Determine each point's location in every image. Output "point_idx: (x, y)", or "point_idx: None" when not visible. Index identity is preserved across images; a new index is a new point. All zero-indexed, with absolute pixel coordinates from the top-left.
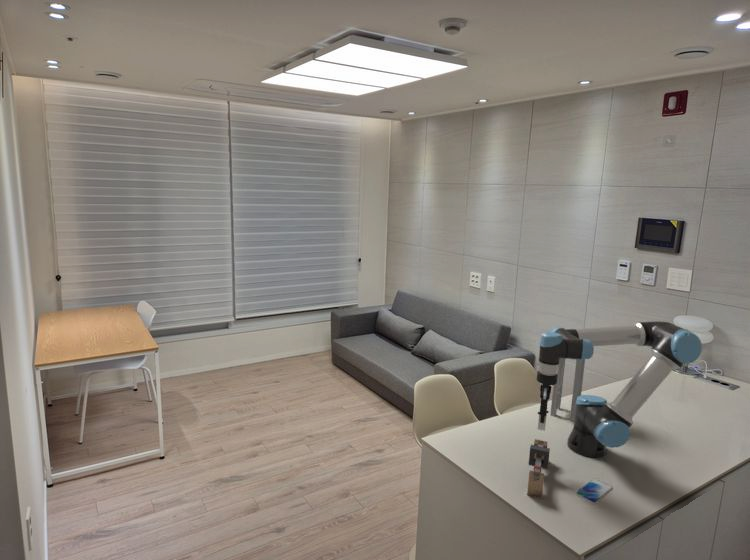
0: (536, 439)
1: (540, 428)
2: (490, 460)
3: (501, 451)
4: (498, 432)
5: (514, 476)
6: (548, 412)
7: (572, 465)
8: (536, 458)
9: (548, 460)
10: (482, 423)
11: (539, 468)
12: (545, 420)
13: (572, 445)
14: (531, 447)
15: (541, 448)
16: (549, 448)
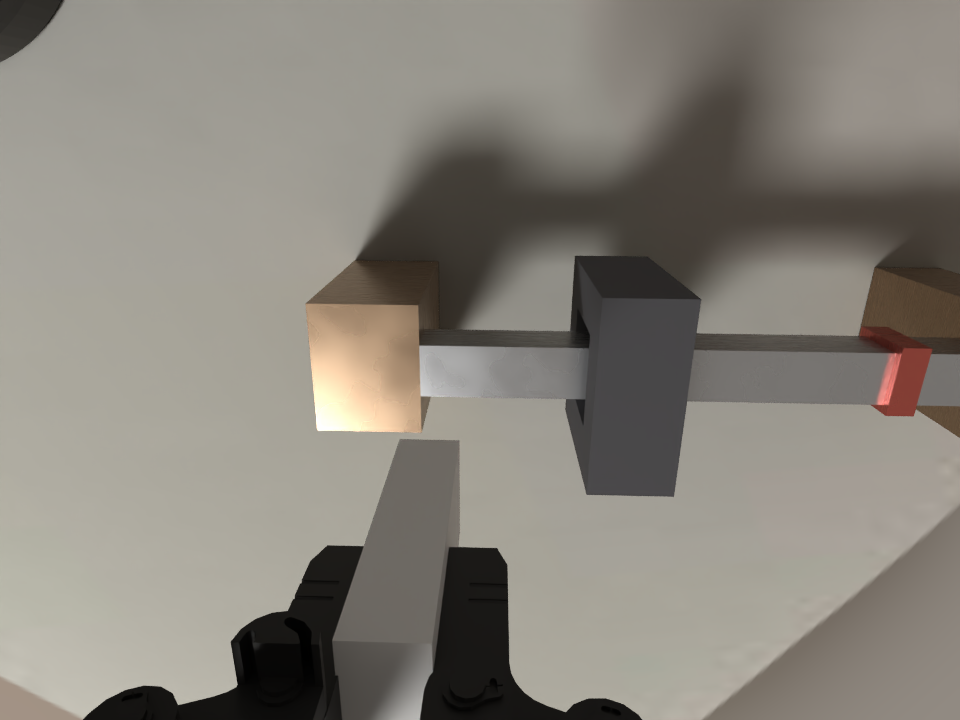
0: (316, 414)
1: (458, 510)
2: (545, 609)
3: None
4: (128, 603)
5: (694, 460)
6: (320, 644)
7: (332, 22)
8: (723, 397)
9: (670, 277)
10: (67, 701)
11: (925, 364)
12: (444, 556)
13: (6, 16)
14: (655, 485)
15: (638, 387)
16: (603, 301)
